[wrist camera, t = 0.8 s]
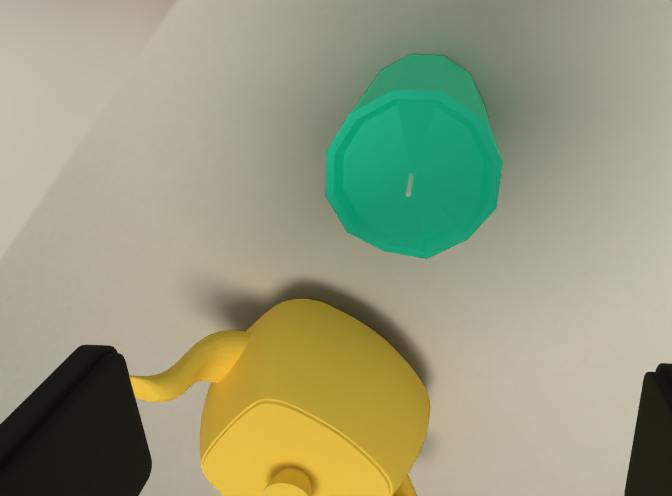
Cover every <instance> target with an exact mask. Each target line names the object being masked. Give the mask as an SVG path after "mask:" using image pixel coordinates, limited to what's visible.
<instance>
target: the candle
mask: <svg viewBox="0 0 672 496" xmlns="http://www.w3.org/2000/svg"><path fill="white" fill-rule="evenodd" d="M501 169H502V159H501V156H500V153H499V150H498V147H497V144H496V141H495V138H494V134H493V131H492V128H491V125H490V122H489V119H488V116H487V113H486V109H485V106H484V103H483V101H482V99H481V96H480V94H479V92H478V90H477V87H476V85H475V83H474V81H473V78H472V76H471V74H470V73H469V72H467V71H466V70H464V69H463V68H461V67H460V66H458V65H457V64H455V63H454V62H452V61H451V60H449V59H448V58H446V57H445V56H442V55H417V54H410V55H408V56H407V57H405V58H403V59H401V60H399V61H397V62H395V63H394V64H392V65H390V66H388V67H386V68H384V69H382V70H381V72H380V73H379V74H378V76H377V77H376V78H375V80H374V81H373V83H372V84H371V85H370V87H369V88H368V89H367V91H366V92H365V93H364V95H363V96H362V97H361V99H360V100H359V102H358V103H357V104H356V106H355V107H354V108H353V110H352V111H351V112H350V114H349V115H348V117H347V119H346V120H345V122H344V123H343V125H342V127H341V128H340V130H339V132H338V133H337V135H336V137H335V138H334V140H333V141H332V143H331V145H330V146H329V148H328V150H327V151H326V194H325V196H326V197H327V199H328V201H329V202H330V204H331V206H332V208H333V209H334V211H335V213H336V214H337V216H338V218H339V220H340V221H341V223H342V225H343V226H344V228H345V230H346V231H347V232H348V233H350V234H352V235H354V236H356V237H358V238H360V239H361V240H363V241H365V242H367V243H369V244H371V245H373V246H375V247H377V248H379V249H381V250H383V251H386V252H392V253H397V254H403V255H408V256H414V257H419V258H425V259H427V258H430V257H432V256H434V255H436V254H438V253H440V252H442V251H444V250H446V249H448V248H450V247H452V246H455V245H457V244H459V243H461V242H463V241H465V240H467V239H468V238H469V237H470V236H471V235H472V234H473V233H474V232H475V231H476V230H477V228H478V227H479V226H480V225H481V224H482V223H483V222H484V221H485V220H486V219H487V218H488V217H489V215H490V214H491V213H492V212H493V211H494V210H495V209H496V206H497V198H498V191H499V184H500V176H501Z"/></svg>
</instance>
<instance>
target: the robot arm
mask: <svg viewBox="0 0 672 496" xmlns="http://www.w3.org/2000/svg"><path fill="white" fill-rule="evenodd" d="M151 468H152V460H151V455H150V452H149V448H148V444H147V440H146V437H145V433H144V429H143V425H142V422H141V418H140V414H139V410H138V407H137V403H136V399H135V395H134V392H133V388H132V384H131V380H130V377H129V373H128V369H127V365H126V362H125V359H124V357H123V356H122V354H119V353H117V350H116V349H115V348H114V347H112V346H105V345H82V346H80V347H78V348H77V349H76V350H75V351H74V352H73V353H72V354H71V355H70V356H69V357H68V358H67V359H66V360H65V361H64V362H63V363H62V364H61V365H60V366H59V367H58V368H57V369H56V370H55V371H54V372H53V373H52V374H51V375H50V376H49V377H48V378H47V379H46V380H45V381H44V382H43V383H42V384H41V385H40V386H39V387H38V388H37V389H36V390H35V391H34V392H33V393H32V394H31V395H30V396H29V397H28V398H27V399H26V400H25V401H23V402H22V403H21V404H20V405H19V406H18V407H17V408H16V409H15V410H14V411H13V412H12V413H11V414H10V415H9V416H8V417H7V418H6V419H5V420H4V421H3V422H2V423H1V424H0V496H138V495H139V494H140V492H141V490H142V489H143V487H144V485H145V484H146V482H147V480H148V478H149V476H150V473H151ZM624 496H672V364H665V363H661V364H659V365H658V367H657V369H656V372H647V373H646V374H645V376H644V380H643V386H642V392H641V398H640V404H639V410H638V416H637V422H636V428H635V434H634V440H633V446H632V452H631V458H630V464H629V470H628V475H627V481H626V487H625V495H624Z"/></svg>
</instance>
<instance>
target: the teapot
mask: <svg viewBox="0 0 672 496" xmlns="http://www.w3.org/2000/svg"><path fill="white" fill-rule="evenodd" d="M129 377H130V380H131V384H132V388H133V392H134V395H135V397H136V398H138V399H141V400H145V401H149V402H165V401H170V400H173V399H175V398H177V397H179V396H180V395H182V394H183V393H184V392H185V391H186V390H187V389H188V388H189V387H190V386H191V385H193V384H194V383H195V382H197V381H209V382H211V385H210V388H209V390H208V393H207V397H206V400H205V404H204V408H203V413H202V418H201V429H200V457H201V467H202V470H203V472H204V474H205V476H206V477H207V479H208V480H209V481H210V482H211V483H212V485H213V486H214V487H215V488H216V489H217V490H218V491H219V492H220V493H221V494H222V495H223V496H417V494H416V492H415V490H414V487H413V485H412V483H411V480H410V478H409V476H408V473H409V471H410V469H411V468H412V466H413V464H414V462H415V461H416V459H417V457H418V455H419V452H420V450H421V448H422V445H423V443H424V440H425V436H426V433H427V428H428V423H429V417H430V400H429V397H428V394H427V391H426V389H425V387H424V385H423V383H422V382H421V380H420V379H419V377H418V375H417V374H416V373H415V372H414V370H413V369H412V368H411V367H410V365H409V364H408V363H407V362H406V361H405V359H404V358H403V357H402V356H401V355H400V354H399V353H398V352H397V351H396V350H395V349H394V348H393V347H392V346H391V345H390V344H389V343H388V342H387V341H386V340H385V339H383V338H382V337H381V336H380V335H379V334H377V333H376V332H375V331H373V330H372V329H371V328H369V327H368V326H366V325H365V324H363V323H362V322H360V321H358V320H357V319H355V318H353V317H351V316H349V315H347V314H345V313H344V312H342V311H340V310H337V309H335V308H333V307H331V306H330V305H329V304H327V303H325V302H321V301H315V300H309V299H294V300H289V301H285V302H282V303H280V304H278V305H276V306H274V307H273V308H272V309H270V310H269V311H268V312H267V313H265V314H264V315H263V316H262V317H260V318H259V319H258V320H257V321H256V322H255V323H254V324H253V325H252V326H251V327H250V328H249V329H248V330H247V331H246V332H244V331H235V330H228V331H220V332H217V333H214V334H211V335H208V336H207V337H205V338H204V339H202V340H200V341H199V342H198V343H196V344H195V345H194V346H193V347H192V348H191V349H190V350H189V351H188V352H187V353H186V354H185V355H184V356H183V357H182V358H181V359H180V360H179V361H178V362H177V363H176V364H175V365H174V366H172V367H171V368H170V369H168V370H167V371H165V372H163V373H161V374H158V375H153V376H129Z"/></svg>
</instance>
